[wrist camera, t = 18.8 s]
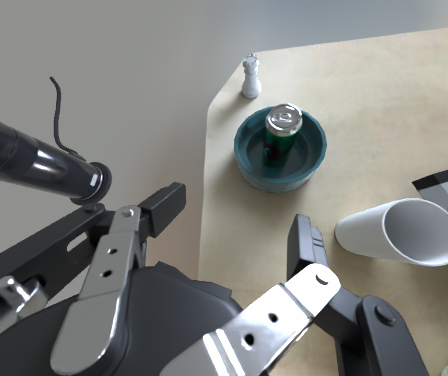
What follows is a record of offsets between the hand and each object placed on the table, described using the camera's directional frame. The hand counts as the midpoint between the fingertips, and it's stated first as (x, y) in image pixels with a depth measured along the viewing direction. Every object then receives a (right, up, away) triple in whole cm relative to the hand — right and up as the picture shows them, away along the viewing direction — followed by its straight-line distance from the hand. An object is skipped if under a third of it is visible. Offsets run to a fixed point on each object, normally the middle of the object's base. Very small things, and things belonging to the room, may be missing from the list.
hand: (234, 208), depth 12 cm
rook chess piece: (+6, +25, +29) cm, 39 cm away
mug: (+23, -6, +16) cm, 29 cm away
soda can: (+10, +8, +23) cm, 26 cm away
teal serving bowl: (+10, +8, +23) cm, 26 cm away
